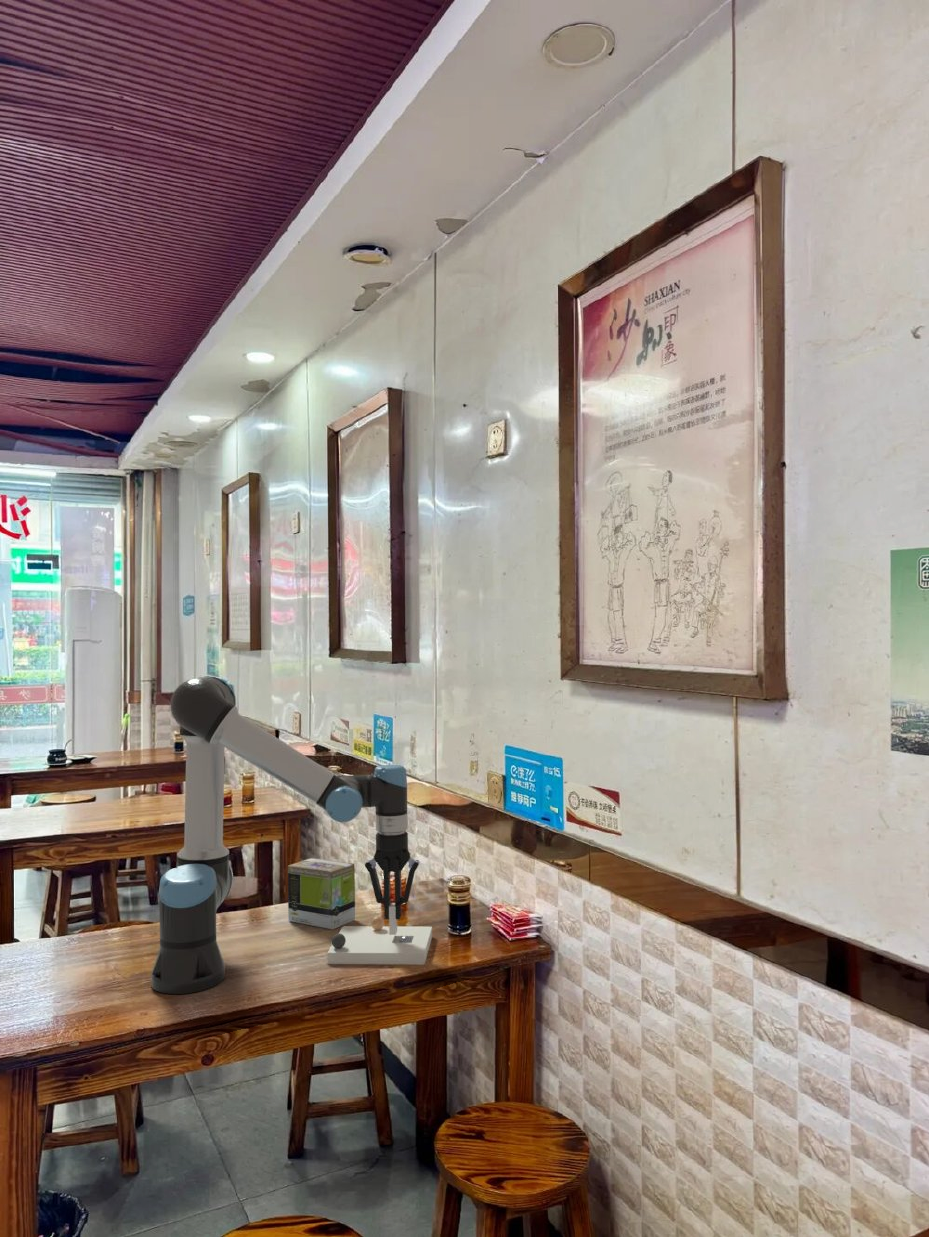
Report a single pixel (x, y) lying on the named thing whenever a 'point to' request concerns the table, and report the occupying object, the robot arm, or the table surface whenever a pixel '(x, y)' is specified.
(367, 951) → the platform
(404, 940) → the steel ball
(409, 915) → the table surface
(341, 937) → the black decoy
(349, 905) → the tea box
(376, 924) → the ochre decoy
